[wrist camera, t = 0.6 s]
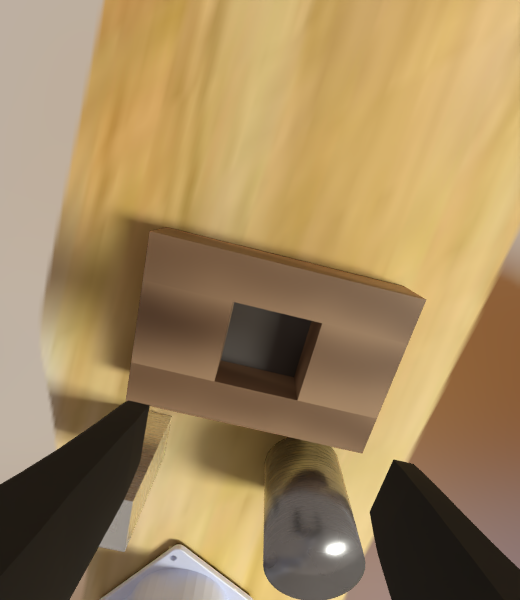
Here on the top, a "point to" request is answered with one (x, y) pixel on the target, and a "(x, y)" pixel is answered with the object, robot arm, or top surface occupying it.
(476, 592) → the robot arm
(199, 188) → the top surface
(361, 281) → the bore block
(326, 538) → the round bit
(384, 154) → the top surface
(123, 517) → the square bit
